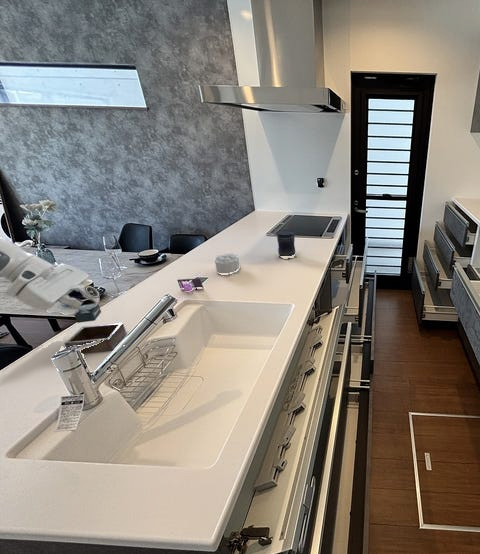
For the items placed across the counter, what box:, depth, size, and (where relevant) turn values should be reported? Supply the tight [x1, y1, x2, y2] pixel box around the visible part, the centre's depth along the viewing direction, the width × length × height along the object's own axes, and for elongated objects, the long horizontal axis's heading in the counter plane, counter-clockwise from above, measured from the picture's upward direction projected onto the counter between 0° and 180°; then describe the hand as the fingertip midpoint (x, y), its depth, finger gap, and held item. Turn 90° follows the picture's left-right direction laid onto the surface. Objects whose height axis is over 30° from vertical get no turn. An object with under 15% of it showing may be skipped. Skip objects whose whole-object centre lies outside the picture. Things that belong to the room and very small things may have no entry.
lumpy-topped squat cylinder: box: [214, 253, 241, 278], centre depth 156 cm, size 10×13×9 cm
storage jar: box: [276, 229, 296, 256], centre depth 179 cm, size 10×10×15 cm
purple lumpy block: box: [176, 277, 204, 292], centre depth 134 cm, size 7×5×9 cm
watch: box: [66, 284, 102, 324], centre depth 95 cm, size 6×8×11 cm
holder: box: [64, 322, 127, 354], centre depth 99 cm, size 12×10×4 cm
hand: (86, 300), depth 95 cm, fingers closed on watch, 4 cm apart
